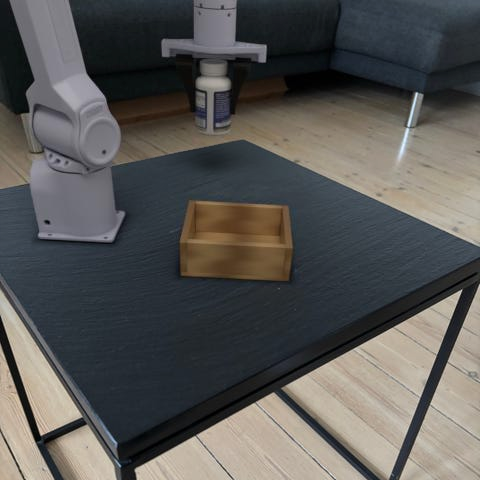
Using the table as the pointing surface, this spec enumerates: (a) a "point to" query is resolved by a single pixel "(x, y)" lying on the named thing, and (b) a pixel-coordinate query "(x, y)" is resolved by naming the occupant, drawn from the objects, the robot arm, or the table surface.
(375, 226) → the table surface
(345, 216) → the table surface
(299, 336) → the table surface
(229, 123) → the pill bottle
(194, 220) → the bin
